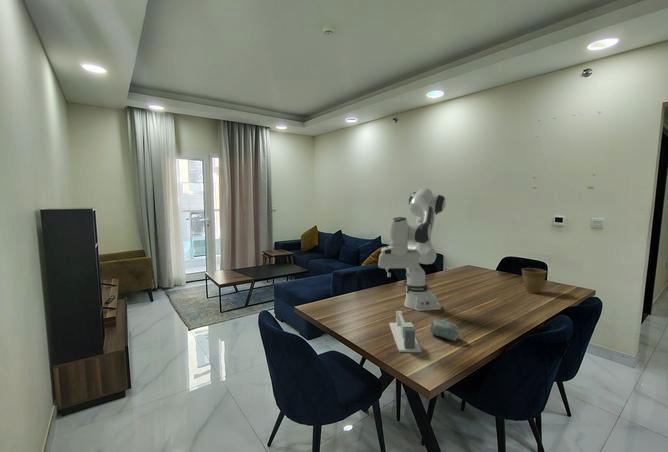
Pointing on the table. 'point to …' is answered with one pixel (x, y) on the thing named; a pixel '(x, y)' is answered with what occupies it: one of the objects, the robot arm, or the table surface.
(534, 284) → the plant pot
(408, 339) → the stand
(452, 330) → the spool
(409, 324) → the sleeve
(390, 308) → the table surface
